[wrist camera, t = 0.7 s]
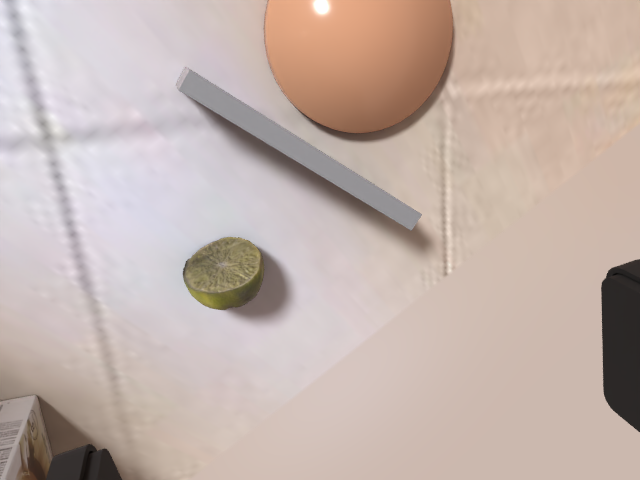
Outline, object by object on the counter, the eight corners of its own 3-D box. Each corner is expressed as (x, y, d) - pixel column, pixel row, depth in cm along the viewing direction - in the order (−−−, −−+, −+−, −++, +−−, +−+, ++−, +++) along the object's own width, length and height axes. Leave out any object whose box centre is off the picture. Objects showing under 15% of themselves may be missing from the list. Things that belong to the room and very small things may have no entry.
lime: (173, 270, 36) (175, 302, 32) (217, 213, 36) (226, 237, 31) (227, 304, 38) (236, 339, 34) (270, 250, 38) (286, 278, 33)
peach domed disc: (379, 163, 38) (385, 166, 37) (227, 64, 33) (229, 65, 32) (478, 6, 36) (487, 5, 35) (332, -121, 31) (337, -126, 31)
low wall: (381, 209, 39) (411, 230, 34) (175, 84, 33) (178, 90, 28) (391, 195, 39) (422, 214, 34) (185, 66, 33) (189, 69, 28)
